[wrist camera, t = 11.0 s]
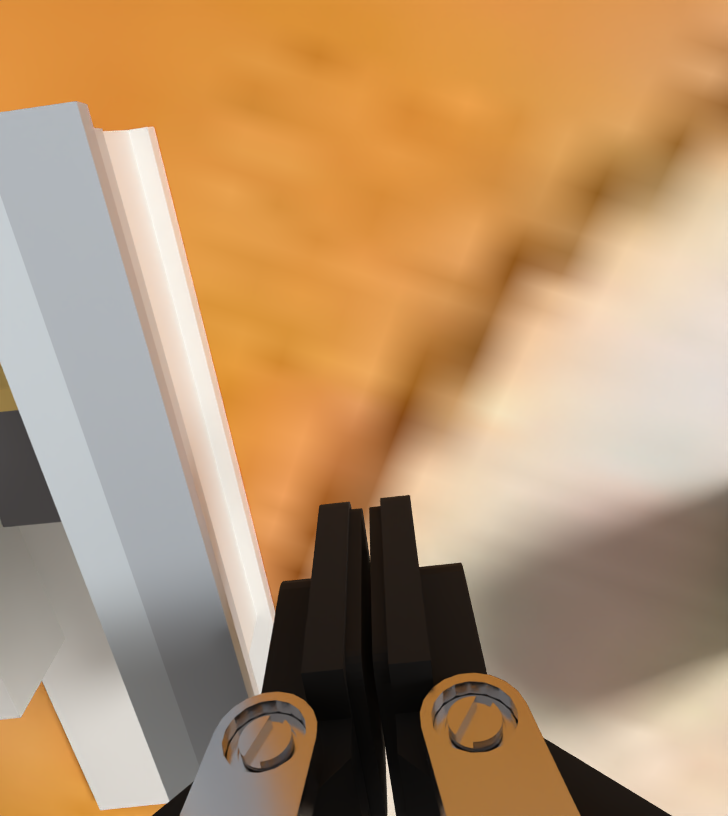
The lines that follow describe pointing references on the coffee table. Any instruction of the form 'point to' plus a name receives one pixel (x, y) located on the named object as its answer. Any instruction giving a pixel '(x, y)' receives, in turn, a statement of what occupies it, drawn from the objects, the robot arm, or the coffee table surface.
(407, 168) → the coffee table surface
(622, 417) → the coffee table surface
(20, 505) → the yellow-capped grey cube
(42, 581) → the white ledged tray
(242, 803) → the robot arm
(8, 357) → the lid
